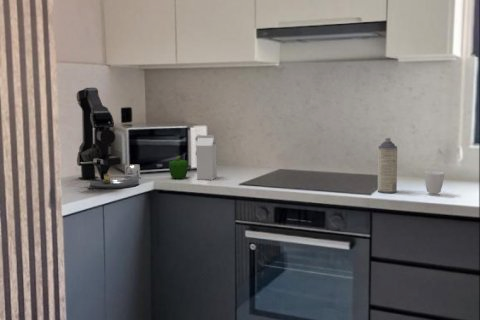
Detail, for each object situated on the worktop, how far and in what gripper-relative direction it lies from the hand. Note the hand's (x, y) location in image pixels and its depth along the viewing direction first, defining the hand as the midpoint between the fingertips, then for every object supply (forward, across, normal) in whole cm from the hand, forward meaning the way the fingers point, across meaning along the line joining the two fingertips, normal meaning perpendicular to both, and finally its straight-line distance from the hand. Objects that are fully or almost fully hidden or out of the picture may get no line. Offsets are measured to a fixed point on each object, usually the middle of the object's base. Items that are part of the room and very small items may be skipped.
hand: (102, 179), depth 223 cm
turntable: (+4, -3, +7) cm, 9 cm away
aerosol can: (-1, +92, +63) cm, 111 cm away
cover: (+4, -11, +22) cm, 25 cm away
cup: (-1, +107, +70) cm, 127 cm away
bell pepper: (+3, +5, +36) cm, 36 cm away
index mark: (+4, -3, -4) cm, 6 cm away
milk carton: (+3, +16, +43) cm, 46 cm away
